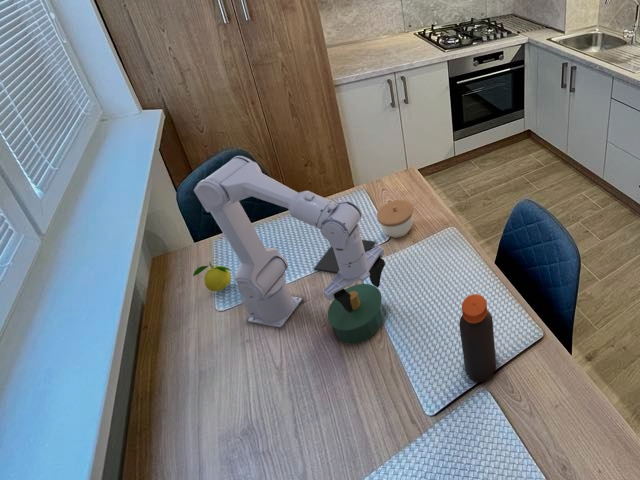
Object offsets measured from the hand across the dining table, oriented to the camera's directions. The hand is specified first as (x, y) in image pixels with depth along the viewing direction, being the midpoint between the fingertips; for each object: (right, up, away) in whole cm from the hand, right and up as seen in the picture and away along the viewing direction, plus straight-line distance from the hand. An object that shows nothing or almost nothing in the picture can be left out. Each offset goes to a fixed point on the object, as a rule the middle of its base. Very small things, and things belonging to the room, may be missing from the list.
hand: (362, 296), depth 93 cm
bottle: (+28, -13, -5) cm, 31 cm away
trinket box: (-1, +4, +33) cm, 33 cm away
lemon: (-44, -6, +15) cm, 47 cm away
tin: (-3, -9, +6) cm, 11 cm away
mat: (-14, 0, +24) cm, 28 cm away
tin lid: (-3, -4, +3) cm, 6 cm away
